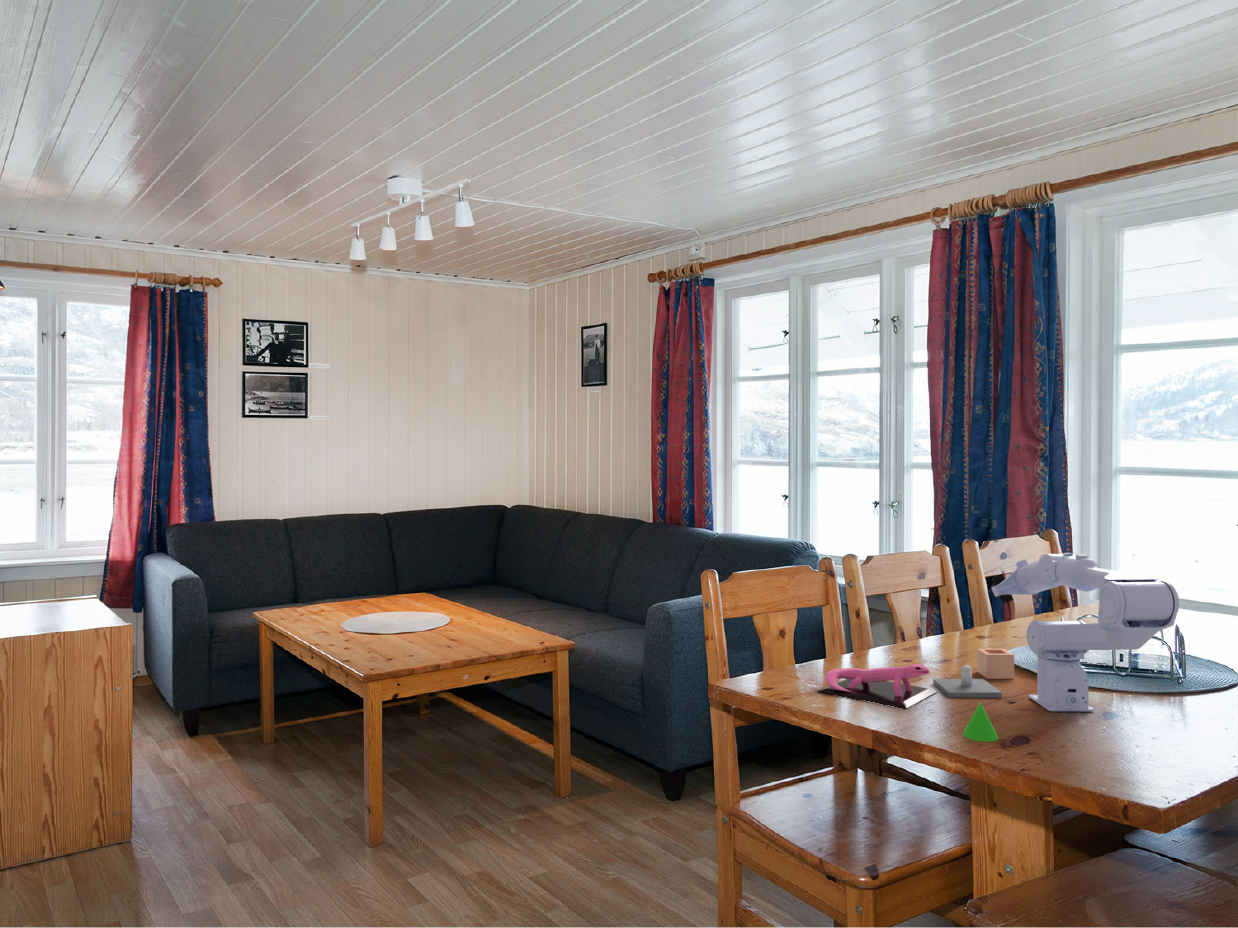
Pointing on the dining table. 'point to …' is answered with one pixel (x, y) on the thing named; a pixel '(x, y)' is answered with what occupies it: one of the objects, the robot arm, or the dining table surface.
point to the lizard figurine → (879, 685)
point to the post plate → (967, 686)
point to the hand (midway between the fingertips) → (1011, 585)
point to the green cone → (980, 727)
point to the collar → (995, 663)
